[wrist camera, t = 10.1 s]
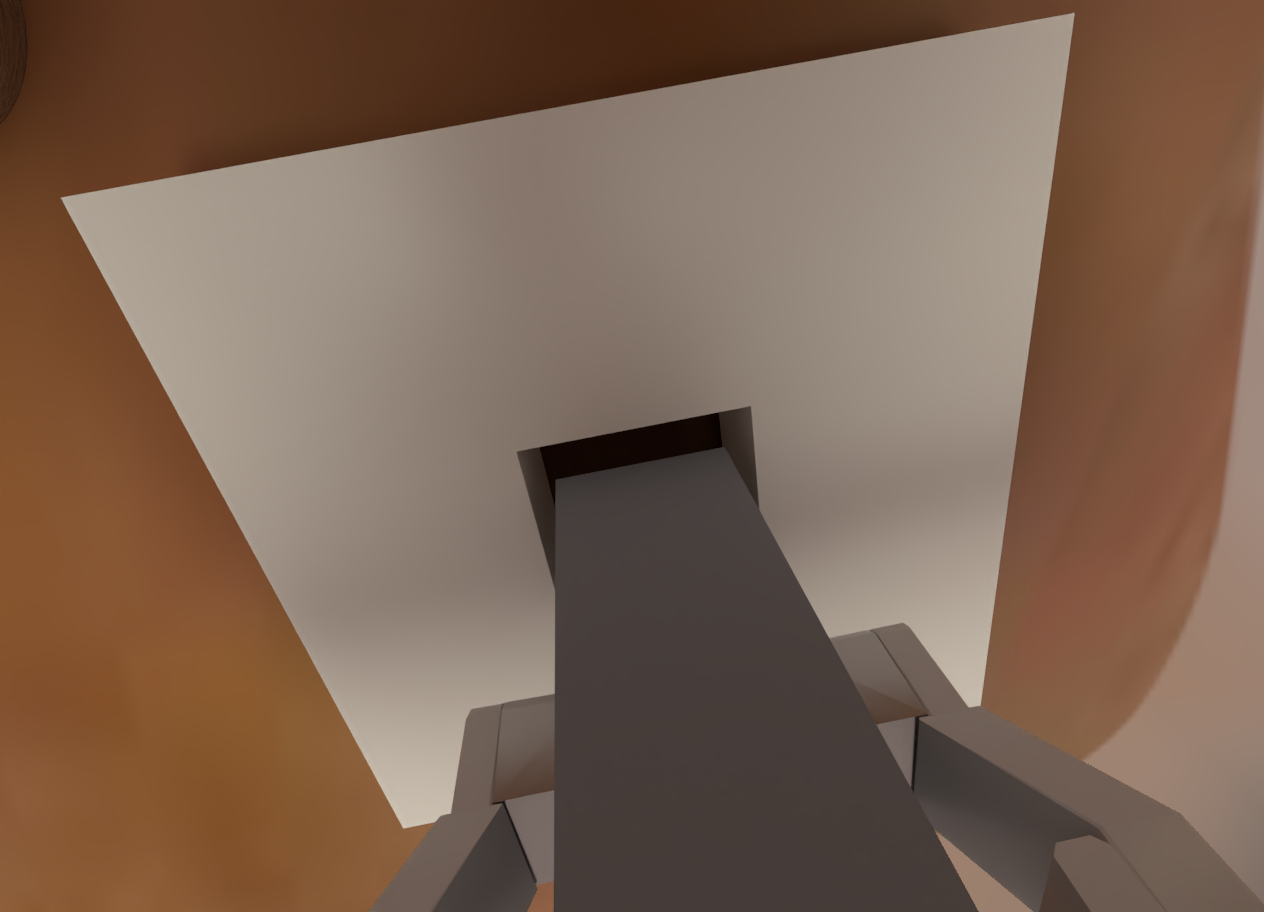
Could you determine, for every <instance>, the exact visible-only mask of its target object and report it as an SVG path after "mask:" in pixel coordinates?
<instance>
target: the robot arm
mask: <svg viewBox="0 0 1264 912" xmlns="http://www.w3.org/2000/svg"><path fill="white" fill-rule="evenodd" d="M829 639H830V640H831V642H832V644H833V646H834V648H835V650H836V651H837V653H838V655H839V657H840V659H841V661H842V662H843V664H844V666H845V668H846V670H847V672H848V673H849V675H850V677H851V679H852V681H853V683H854V684H855V686H856V688H857V690H858V692H859V694H860V695H861V697H862V699H863V701H864V703H865V705H866V706H867V708H868V710H869V712H870V714H871V716H872V717H873V719H874V721H875V723H876V725H877V727H878V728H879V730H880V732H881V734H882V736H883V738H884V739H885V741H886V743H887V745H888V747H889V749H890V750H891V752H892V754H893V756H894V758H895V760H896V761H897V763H898V765H899V767H900V769H901V771H902V772H903V774H904V776H905V778H906V780H907V782H908V783H909V785H910V787H911V789H912V791H913V793H914V794H915V796H916V798H917V800H918V802H919V803H920V805H921V807H922V809H923V811H924V813H925V814H926V816H927V818H928V820H929V822H930V824H931V825H932V827H933V828H934V829H935V830H936V831H938V832H939V833H940V834H941V835H942V836H944V837H945V838H946V839H947V840H948V841H950V842H951V843H952V844H953V845H954V846H956V847H957V848H958V849H959V850H960V851H962V852H963V853H964V854H965V855H966V856H968V857H969V858H970V859H971V860H972V861H974V862H975V863H976V864H977V865H978V866H980V867H981V868H982V869H983V870H984V871H986V872H987V873H988V874H989V875H990V876H991V877H993V878H994V879H995V880H996V881H998V882H999V883H1000V884H1001V885H1002V886H1004V887H1005V888H1006V889H1007V890H1008V891H1009V892H1011V893H1012V894H1013V895H1015V897H1017V898H1018V899H1019V900H1020V901H1022V902H1023V903H1024V904H1025V905H1026V906H1027V907H1029V908H1030V909H1031V910H1032V911H1033V912H1264V904H1263V903H1262V901H1260V899H1259V898H1258V897H1257V896H1256V895H1255V894H1254V893H1253V892H1252V891H1251V890H1250V888H1249V887H1248V886H1247V885H1246V884H1245V883H1244V882H1243V881H1242V880H1241V879H1240V878H1239V877H1238V875H1237V874H1236V873H1235V872H1234V871H1233V870H1232V869H1231V868H1230V867H1229V866H1228V865H1227V864H1226V862H1225V861H1224V860H1223V859H1222V858H1221V857H1220V856H1219V855H1218V854H1217V853H1216V852H1215V850H1214V849H1213V848H1212V847H1211V846H1210V845H1209V844H1208V843H1207V842H1206V841H1205V840H1204V839H1203V838H1202V836H1201V835H1200V834H1199V833H1198V832H1197V831H1196V830H1195V829H1194V828H1193V827H1192V826H1191V825H1190V823H1189V822H1188V821H1187V820H1186V819H1185V818H1184V817H1183V816H1182V815H1181V814H1180V813H1178V812H1176V811H1174V810H1172V809H1171V808H1169V807H1167V806H1165V805H1163V804H1161V803H1160V802H1158V801H1156V800H1154V799H1152V798H1150V797H1148V796H1147V795H1144V794H1143V793H1141V792H1139V791H1137V790H1135V789H1133V788H1132V787H1130V786H1128V785H1126V784H1124V783H1122V782H1120V781H1119V780H1117V779H1115V778H1113V777H1111V776H1109V775H1107V774H1106V773H1104V772H1102V771H1100V770H1098V769H1096V768H1094V767H1092V766H1091V765H1089V764H1087V763H1085V762H1083V761H1081V760H1079V759H1078V758H1076V757H1074V756H1072V755H1070V754H1068V753H1066V752H1065V751H1063V750H1061V749H1059V748H1057V747H1055V746H1053V745H1052V744H1050V743H1048V742H1046V741H1044V740H1042V739H1040V738H1038V737H1037V736H1035V735H1033V734H1031V733H1029V732H1027V731H1025V730H1024V729H1022V728H1020V727H1018V726H1016V725H1014V724H1012V723H1011V722H1009V721H1007V720H1005V719H1003V718H1001V717H999V716H997V715H996V714H994V713H992V712H990V711H988V710H986V709H984V708H983V707H981V706H975V707H968V706H967V704H966V703H965V702H964V700H963V699H962V698H961V696H960V695H959V694H958V692H957V691H956V689H955V688H954V687H953V685H952V684H951V683H950V681H949V680H948V679H947V677H946V676H945V674H944V673H943V672H942V670H941V669H940V668H939V666H938V665H937V664H936V662H935V661H934V659H933V658H932V657H931V655H930V654H929V653H928V651H927V650H926V649H925V647H924V646H923V644H922V643H921V642H920V640H919V639H918V638H917V636H916V635H915V634H914V632H913V631H912V629H911V628H910V627H909V626H908V625H906V624H904V623H899V624H894V625H889V626H884V627H879V628H875V629H870V630H864V631H860V632H855V633H850V634H846V635H841V636H836V637H831V638H829ZM554 738H555V694H551V695H545V696H539V697H533V698H528V699H522V700H516V701H511V702H505V703H503V704H497V705H491V706H485V707H480V708H474V709H471V710H470V712H469V714H468V716H467V718H466V722H465V728H464V734H463V741H462V747H461V753H460V759H459V765H458V772H457V778H456V784H455V790H454V797H453V803H452V809H451V813H450V814H446V815H441V816H440V817H439V818H438V820H437V821H436V822H435V824H434V825H433V826H432V828H431V829H430V830H429V832H428V833H427V834H426V836H425V837H424V838H423V840H422V841H421V842H420V844H419V845H418V846H417V848H416V849H415V850H414V852H413V853H412V854H411V855H410V857H409V858H408V859H407V861H406V862H405V863H404V865H403V866H402V867H401V869H400V870H399V871H398V873H397V874H396V875H395V877H394V878H393V879H392V881H391V882H390V883H389V885H388V886H387V887H386V889H385V890H384V891H383V893H382V894H381V895H380V897H379V898H378V899H377V901H376V902H375V903H374V905H373V906H372V907H371V909H370V910H369V911H368V912H527V910H528V908H529V906H530V904H531V902H532V900H533V898H534V895H535V893H536V891H537V887H536V885H539V884H543V883H548V882H552V881H554Z"/></svg>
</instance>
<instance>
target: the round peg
mask: <svg viewBox="0 0 1264 912" xmlns="http://www.w3.org/2000/svg"><path fill="white" fill-rule="evenodd" d="M26 48H27V44H26V32H25V22H24V17H23V12H22V7H21V3H20V0H0V123H1V122H2V121H3V120H4V119H5V118H6V116H7V114H8V113H9V111H10V110H11V108H12V107H13V105H14V103H15V101H16V99H17V96H18V93H19V91H20V88H21V86H22V81H23V76H24V72H25V67H26Z"/></svg>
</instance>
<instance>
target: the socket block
mask: <svg viewBox="0 0 1264 912" xmlns="http://www.w3.org/2000/svg"><path fill="white" fill-rule="evenodd" d="M1074 15H1075V13H1071V14H1066V15H1060V16H1055V17H1049V18H1044V19H1038V20H1033V21H1027V22H1022V23H1016V24H1011V25H1006V26H1000V27H995V28H989V29H984V30H978V31H973V32H967V33H962V34H956V35H951V36H945V37H940V38H934V39H929V40H923V41H918V42H912V43H907V44H901V45H896V46H890V47H885V48H879V49H874V50H868V51H863V52H857V53H852V54H846V55H841V56H835V57H830V58H824V59H819V60H814V61H808V62H803V63H797V64H792V65H786V66H781V67H775V68H770V69H764V70H759V71H753V72H748V73H742V74H737V75H731V76H726V77H720V78H715V79H709V80H704V81H698V82H693V83H687V84H682V85H676V86H671V87H665V88H660V89H654V90H649V91H643V92H638V93H632V94H627V95H622V96H616V97H611V98H605V99H600V100H594V101H589V102H583V103H578V104H572V105H567V106H561V107H556V108H550V109H545V110H539V111H534V112H528V113H523V114H517V115H512V116H506V117H501V118H495V119H490V120H484V121H479V122H473V123H468V124H462V125H457V126H451V127H446V128H440V129H435V130H430V131H424V132H419V133H413V134H408V135H402V136H397V137H391V138H386V139H380V140H375V141H369V142H364V143H358V144H353V145H347V146H342V147H336V148H331V149H325V150H320V151H314V152H309V153H303V154H298V155H292V156H287V157H281V158H276V159H270V160H265V161H259V162H254V163H248V164H243V165H237V166H232V167H227V168H221V169H216V170H210V171H205V172H199V173H194V174H188V175H183V176H177V177H172V178H166V179H161V180H155V181H150V182H144V183H139V184H133V185H128V186H122V187H117V188H111V189H106V190H100V191H95V192H89V193H84V194H78V195H73V196H67V197H62V198H61V199H62V201H63V203H64V205H65V207H66V209H67V211H68V212H69V214H70V216H71V218H72V220H73V222H74V223H75V225H76V227H77V229H78V231H79V233H80V234H81V236H82V238H83V240H84V242H85V244H86V245H87V247H88V249H89V251H90V253H91V255H92V257H93V258H94V260H95V262H96V264H97V266H98V268H99V269H100V271H101V273H102V275H103V277H104V279H105V280H106V282H107V284H108V286H109V288H110V290H111V291H112V293H113V295H114V297H115V299H116V301H117V303H118V304H119V306H120V308H121V310H122V312H123V314H124V315H125V317H126V319H127V321H128V323H129V325H130V326H131V328H132V330H133V332H134V334H135V336H136V337H137V339H138V341H139V343H140V345H141V347H142V348H143V350H144V352H145V354H146V356H147V358H148V360H149V361H150V363H151V365H152V367H153V369H154V371H155V372H156V374H157V376H158V378H159V380H160V382H161V383H162V385H163V387H164V389H165V391H166V393H167V394H168V396H169V398H170V400H171V402H172V404H173V406H174V407H175V409H176V411H177V413H178V415H179V417H180V418H181V420H182V422H183V424H184V426H185V428H186V429H187V431H188V433H189V435H190V437H191V439H192V440H193V442H194V444H195V446H196V448H197V450H198V451H199V453H200V455H201V457H202V459H203V461H204V463H205V464H206V466H207V468H208V470H209V472H210V474H211V475H212V477H213V479H214V481H215V483H216V485H217V486H218V488H219V490H220V492H221V494H222V496H223V497H224V499H225V501H226V503H227V505H228V507H229V509H230V510H231V512H232V514H233V516H234V518H235V520H236V521H237V523H238V525H239V527H240V529H241V531H242V532H243V534H244V536H245V538H246V540H247V542H248V543H249V545H250V547H251V549H252V551H253V553H254V555H255V556H256V558H257V560H258V562H259V564H260V566H261V567H262V569H263V571H264V573H265V575H266V577H267V578H268V580H269V582H270V584H271V586H272V588H273V589H274V591H275V593H276V595H277V597H278V599H279V600H280V602H281V604H282V606H283V608H284V610H285V612H286V613H287V615H288V617H289V619H290V621H291V623H292V624H293V626H294V628H295V630H296V632H297V634H298V635H299V637H300V639H301V641H302V643H303V645H304V646H305V648H306V650H307V652H308V654H309V656H310V658H311V659H312V661H313V663H314V665H315V667H316V669H317V670H318V672H319V674H320V676H321V678H322V680H323V681H324V683H325V685H326V687H327V689H328V691H329V692H330V694H331V696H332V698H333V700H334V702H335V704H336V705H337V707H338V709H339V711H340V713H341V715H342V716H343V718H344V720H345V722H346V724H347V726H348V727H349V729H350V731H351V733H352V735H353V737H354V738H355V740H356V742H357V744H358V746H359V748H360V749H361V751H362V753H363V755H364V757H365V759H366V761H367V762H368V764H369V766H370V768H371V770H372V772H373V773H374V775H375V777H376V779H377V781H378V783H379V784H380V786H381V788H382V790H383V792H384V794H385V795H386V797H387V799H388V801H389V803H390V805H391V807H392V808H393V810H394V812H395V814H396V816H397V818H398V819H399V821H400V823H401V825H402V827H403V828H408V827H413V826H418V825H423V824H428V823H432V822H436V821H437V820H438V818H439V817H440V816H441V815H446V814H450V813H451V809H452V803H453V797H454V790H455V784H456V778H457V772H458V765H459V759H460V753H461V747H462V741H463V734H464V728H465V722H466V718H467V716H468V714H469V712H470V710H471V709H474V708H480V707H485V706H491V705H497V704H503V703H505V702H511V701H516V700H522V699H528V698H533V697H539V696H545V695H551V694H555V505H554V501H553V498H552V494H551V490H550V486H549V482H548V478H547V474H546V471H545V467H544V463H543V459H542V455H541V451H540V447H543V446H548V445H553V444H558V443H563V442H568V441H573V440H579V439H584V438H589V437H594V436H599V435H604V434H610V433H615V432H620V431H625V430H630V429H635V428H641V427H646V426H651V425H656V424H661V423H666V422H671V421H677V420H682V419H687V418H692V417H697V416H702V415H708V414H713V413H718V412H719V420H720V430H721V439H722V447H725V448H726V450H727V452H728V454H729V455H730V457H731V459H732V461H733V463H734V465H735V466H736V468H737V470H738V472H739V474H740V476H741V477H742V479H743V481H744V483H745V485H746V487H747V488H748V490H749V492H750V494H751V496H752V498H753V499H754V501H755V503H756V505H757V507H758V509H759V510H760V512H761V514H762V516H763V518H764V520H765V521H766V523H767V525H768V527H769V529H770V531H771V532H772V534H773V536H774V538H775V540H776V542H777V543H778V545H779V547H780V549H781V551H782V552H783V554H784V556H785V558H786V560H787V562H788V563H789V565H790V567H791V569H792V571H793V573H794V574H795V576H796V578H797V580H798V582H799V584H800V585H801V587H802V589H803V591H804V593H805V595H806V596H807V598H808V600H809V602H810V604H811V606H812V607H813V609H814V611H815V613H816V615H817V617H818V618H819V620H820V622H821V624H822V626H823V628H824V629H825V631H826V633H827V635H828V637H829V638H831V637H836V636H841V635H846V634H850V633H855V632H860V631H864V630H870V629H875V628H879V627H884V626H889V625H894V624H899V623H904V624H906V625H908V626H909V627H910V628H911V629H912V631H913V632H914V634H915V635H916V636H917V638H918V639H919V640H920V642H921V643H922V644H923V646H924V647H925V649H926V650H927V651H928V653H929V654H930V655H931V657H932V658H933V659H934V661H935V662H936V664H937V665H938V666H939V668H940V669H941V670H942V672H943V673H944V674H945V676H946V677H947V679H948V680H949V681H950V683H951V684H952V685H953V687H954V688H955V689H956V691H957V692H958V694H959V695H960V696H961V698H962V699H963V700H964V702H965V703H966V704H967V706H968V707H975V706H980V704H981V697H982V689H983V682H984V675H985V667H986V660H987V653H988V645H989V638H990V631H991V623H992V616H993V609H994V601H995V594H996V587H997V579H998V572H999V565H1000V557H1001V550H1002V543H1003V535H1004V528H1005V521H1006V513H1007V506H1008V499H1009V491H1010V484H1011V477H1012V469H1013V462H1014V455H1015V447H1016V440H1017V433H1018V426H1019V418H1020V411H1021V404H1022V396H1023V389H1024V382H1025V374H1026V367H1027V360H1028V352H1029V345H1030V338H1031V330H1032V323H1033V316H1034V308H1035V301H1036V294H1037V286H1038V279H1039V272H1040V264H1041V257H1042V250H1043V242H1044V235H1045V228H1046V220H1047V213H1048V206H1049V198H1050V191H1051V184H1052V176H1053V169H1054V162H1055V154H1056V147H1057V140H1058V132H1059V125H1060V118H1061V110H1062V103H1063V96H1064V88H1065V81H1066V74H1067V66H1068V59H1069V52H1070V44H1071V37H1072V30H1073V22H1074Z"/></svg>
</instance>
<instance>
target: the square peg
mask: <svg viewBox="0 0 1264 912" xmlns="http://www.w3.org/2000/svg"><path fill="white" fill-rule="evenodd" d="M554 912H978V910H977V908H976V906H975V904H974V903H973V901H972V899H971V897H970V895H969V893H968V891H967V890H966V888H965V886H964V884H963V882H962V880H961V879H960V877H959V875H958V873H957V871H956V869H955V868H954V866H953V864H952V862H951V860H950V858H949V857H948V855H947V853H946V851H945V849H944V847H943V846H942V844H941V842H940V840H939V838H938V836H937V835H936V833H935V831H934V829H933V827H932V825H931V824H930V822H929V820H928V818H927V816H926V814H925V813H924V811H923V809H922V807H921V805H920V803H919V802H918V800H917V798H916V796H915V794H914V793H913V791H912V789H911V787H910V785H909V783H908V782H907V780H906V778H905V776H904V774H903V772H902V771H901V769H900V767H899V765H898V763H897V761H896V760H895V758H894V756H893V754H892V752H891V750H890V749H889V747H888V745H887V743H886V741H885V739H884V738H883V736H882V734H881V732H880V730H879V728H878V727H877V725H876V723H875V721H874V719H873V717H872V716H871V714H870V712H869V710H868V708H867V706H866V705H865V703H864V701H863V699H862V697H861V695H860V694H859V692H858V690H857V688H856V686H855V684H854V683H853V681H852V679H851V677H850V675H849V673H848V672H847V670H846V668H845V666H844V664H843V662H842V661H841V659H840V657H839V655H838V653H837V651H836V650H835V648H834V646H833V644H832V642H831V640H830V639H829V637H828V635H827V633H826V631H825V629H824V628H823V626H822V624H821V622H820V620H819V618H818V617H817V615H816V613H815V611H814V609H813V607H812V606H811V604H810V602H809V600H808V598H807V596H806V595H805V593H804V591H803V589H802V587H801V585H800V584H799V582H798V580H797V578H796V576H795V574H794V573H793V571H792V569H791V567H790V565H789V563H788V562H787V560H786V558H785V556H784V554H783V552H782V551H781V549H780V547H779V545H778V543H777V542H776V540H775V538H774V536H773V534H772V532H771V531H770V529H769V527H768V525H767V523H766V521H765V520H764V518H763V516H762V514H761V512H760V510H759V509H758V507H757V505H756V503H755V501H754V499H753V498H752V496H751V494H750V492H749V490H748V488H747V487H746V485H745V483H744V481H743V479H742V477H741V476H740V474H739V472H738V470H737V468H736V466H735V465H734V463H733V461H732V459H731V457H730V455H729V454H728V452H727V450H726V448H725V447H721V448H716V449H711V450H706V451H701V452H695V453H690V454H685V455H680V456H675V457H670V458H665V459H659V460H654V461H649V462H644V463H639V464H634V465H628V466H623V467H618V468H613V469H608V470H603V471H597V472H592V473H587V474H582V475H577V476H572V477H566V478H561V479H556V501H555V738H554Z"/></svg>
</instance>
